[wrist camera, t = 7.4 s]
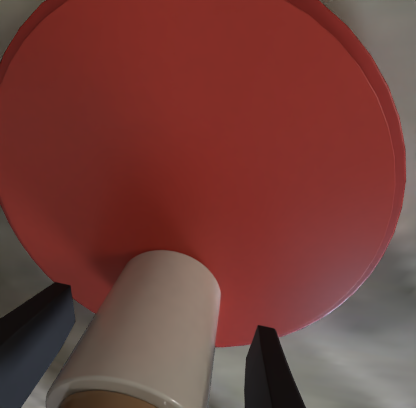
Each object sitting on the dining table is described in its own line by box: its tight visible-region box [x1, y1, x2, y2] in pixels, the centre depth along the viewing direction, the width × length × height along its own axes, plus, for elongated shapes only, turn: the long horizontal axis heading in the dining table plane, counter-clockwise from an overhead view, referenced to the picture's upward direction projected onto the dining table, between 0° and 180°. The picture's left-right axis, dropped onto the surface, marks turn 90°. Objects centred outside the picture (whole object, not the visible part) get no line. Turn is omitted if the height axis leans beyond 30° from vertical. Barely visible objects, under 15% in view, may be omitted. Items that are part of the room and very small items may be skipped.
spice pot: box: [45, 250, 221, 408], centre depth 9 cm, size 4×4×6 cm
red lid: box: [0, 0, 406, 347], centre depth 11 cm, size 17×15×1 cm
